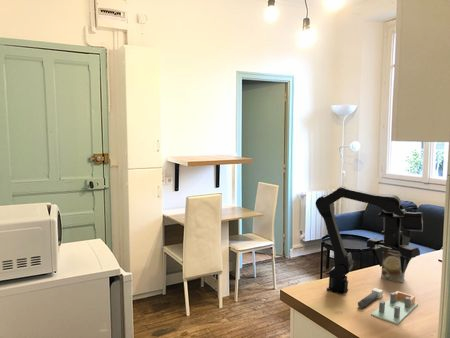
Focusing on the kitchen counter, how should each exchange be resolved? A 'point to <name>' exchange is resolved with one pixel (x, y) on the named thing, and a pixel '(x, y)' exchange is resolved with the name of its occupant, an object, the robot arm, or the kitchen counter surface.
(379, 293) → the rod
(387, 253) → the coffee box
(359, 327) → the kitchen counter surface
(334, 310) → the kitchen counter surface
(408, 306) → the clip board
